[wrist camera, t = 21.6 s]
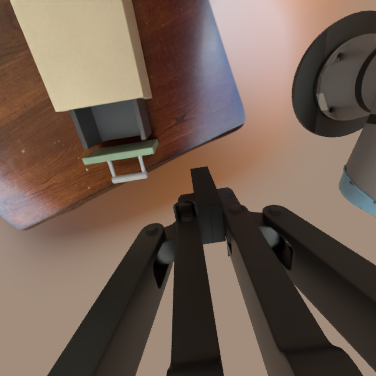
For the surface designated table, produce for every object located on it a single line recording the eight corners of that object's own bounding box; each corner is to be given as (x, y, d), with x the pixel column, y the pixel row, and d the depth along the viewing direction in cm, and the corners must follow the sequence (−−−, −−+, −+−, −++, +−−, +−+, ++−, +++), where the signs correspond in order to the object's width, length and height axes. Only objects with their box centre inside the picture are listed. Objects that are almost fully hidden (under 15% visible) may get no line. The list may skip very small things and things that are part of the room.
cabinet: (152, 97, 38) (143, 97, 29) (84, 109, 38) (55, 112, 29) (130, -8, 31) (110, -51, 22) (48, 7, 32) (-3, -29, 23)
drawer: (163, 167, 43) (160, 181, 36) (109, 176, 43) (95, 191, 36) (141, 64, 35) (131, 55, 28) (74, 76, 35) (46, 70, 28)
